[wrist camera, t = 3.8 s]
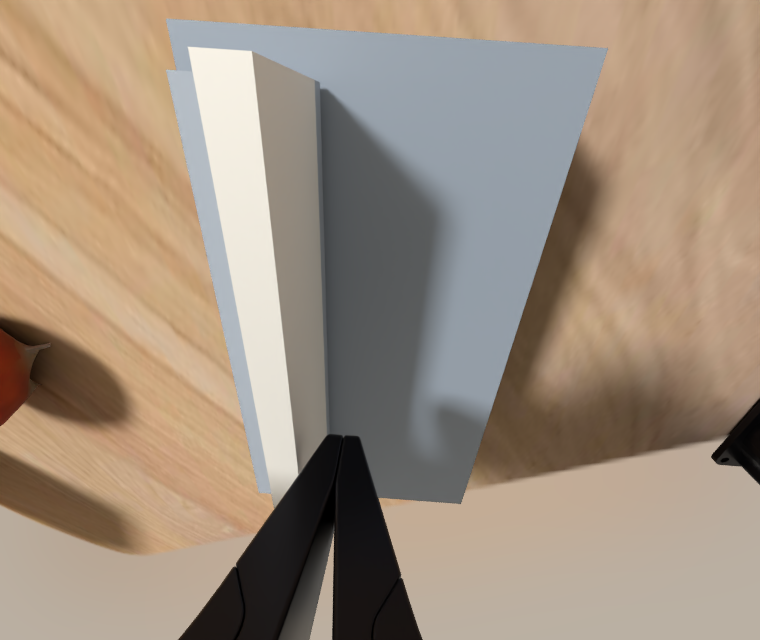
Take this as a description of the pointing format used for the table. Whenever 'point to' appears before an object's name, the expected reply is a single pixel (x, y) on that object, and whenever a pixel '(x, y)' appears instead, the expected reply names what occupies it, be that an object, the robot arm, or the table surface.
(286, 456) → the l-shaped bar
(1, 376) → the fruit
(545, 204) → the carton
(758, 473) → the robot arm
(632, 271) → the table surface
